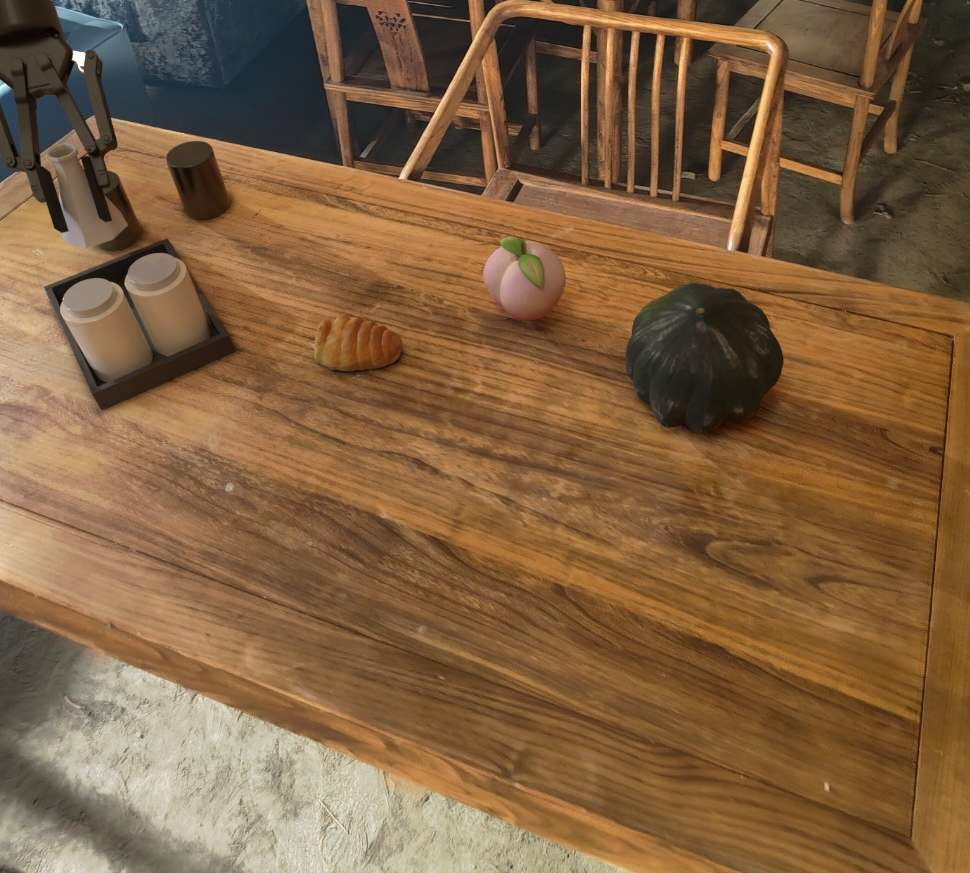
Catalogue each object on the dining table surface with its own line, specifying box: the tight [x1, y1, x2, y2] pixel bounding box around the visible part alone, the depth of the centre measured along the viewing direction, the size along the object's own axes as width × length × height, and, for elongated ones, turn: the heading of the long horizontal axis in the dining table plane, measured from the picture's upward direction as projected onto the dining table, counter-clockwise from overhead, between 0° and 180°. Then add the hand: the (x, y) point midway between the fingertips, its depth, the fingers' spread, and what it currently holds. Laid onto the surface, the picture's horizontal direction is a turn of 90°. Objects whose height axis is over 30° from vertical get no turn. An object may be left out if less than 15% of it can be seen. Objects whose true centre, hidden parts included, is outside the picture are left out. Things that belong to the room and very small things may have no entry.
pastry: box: [313, 314, 403, 372], centre depth 101 cm, size 9×7×4 cm
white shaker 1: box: [60, 278, 153, 383], centre depth 100 cm, size 7×7×10 cm
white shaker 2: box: [125, 253, 211, 356], centre depth 102 cm, size 7×7×10 cm
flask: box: [44, 141, 128, 249], centre depth 100 cm, size 7×7×10 cm
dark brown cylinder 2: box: [165, 140, 231, 221], centre depth 121 cm, size 6×6×8 cm
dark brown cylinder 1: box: [96, 170, 143, 252], centre depth 118 cm, size 6×6×8 cm
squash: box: [624, 282, 785, 435], centre depth 90 cm, size 14×15×15 cm
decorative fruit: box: [482, 236, 567, 322], centre depth 101 cm, size 9×8×10 cm
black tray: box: [43, 237, 236, 411], centre depth 108 cm, size 22×16×3 cm
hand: (83, 224), depth 99 cm, fingers closed on flask, 4 cm apart
